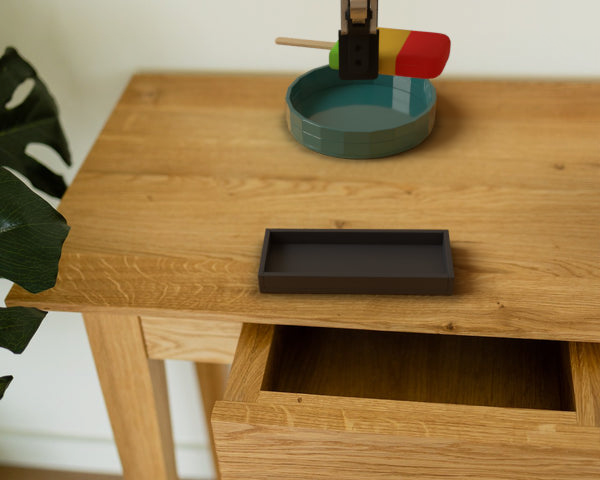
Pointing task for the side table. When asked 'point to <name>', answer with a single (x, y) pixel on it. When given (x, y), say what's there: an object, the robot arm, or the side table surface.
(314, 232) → the tray
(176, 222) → the side table surface
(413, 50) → the popsicle
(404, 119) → the bowl
